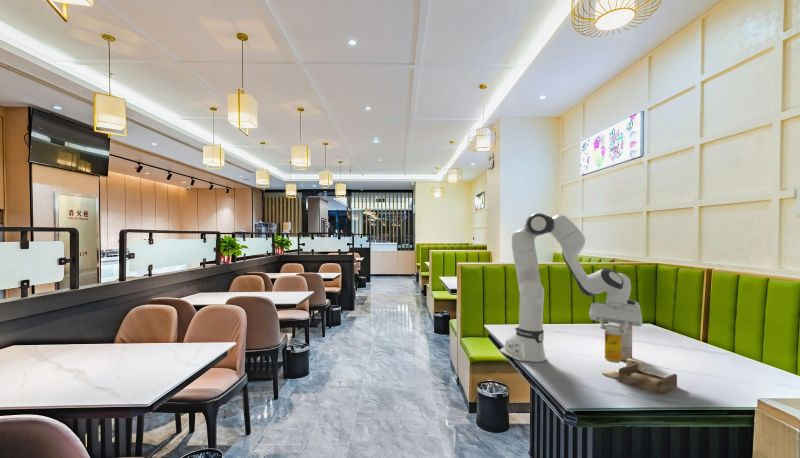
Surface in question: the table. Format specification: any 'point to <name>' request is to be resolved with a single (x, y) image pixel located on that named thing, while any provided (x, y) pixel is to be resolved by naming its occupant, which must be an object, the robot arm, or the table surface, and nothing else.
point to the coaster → (611, 374)
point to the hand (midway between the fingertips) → (612, 329)
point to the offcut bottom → (645, 378)
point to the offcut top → (632, 361)
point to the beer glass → (613, 343)
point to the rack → (663, 384)
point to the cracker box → (625, 342)
